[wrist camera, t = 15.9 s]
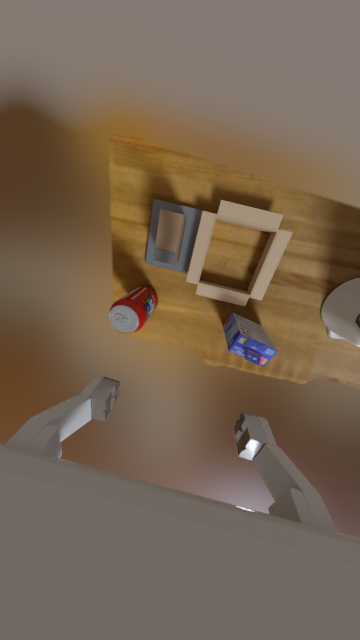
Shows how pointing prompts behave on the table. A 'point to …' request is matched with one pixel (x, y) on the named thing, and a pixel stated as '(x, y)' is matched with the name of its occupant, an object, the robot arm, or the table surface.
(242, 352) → the ink cartridge box
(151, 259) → the mat
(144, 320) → the soda can
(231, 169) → the table surface
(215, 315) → the table surface
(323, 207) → the table surface
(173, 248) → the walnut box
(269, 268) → the beige hollow square frame
